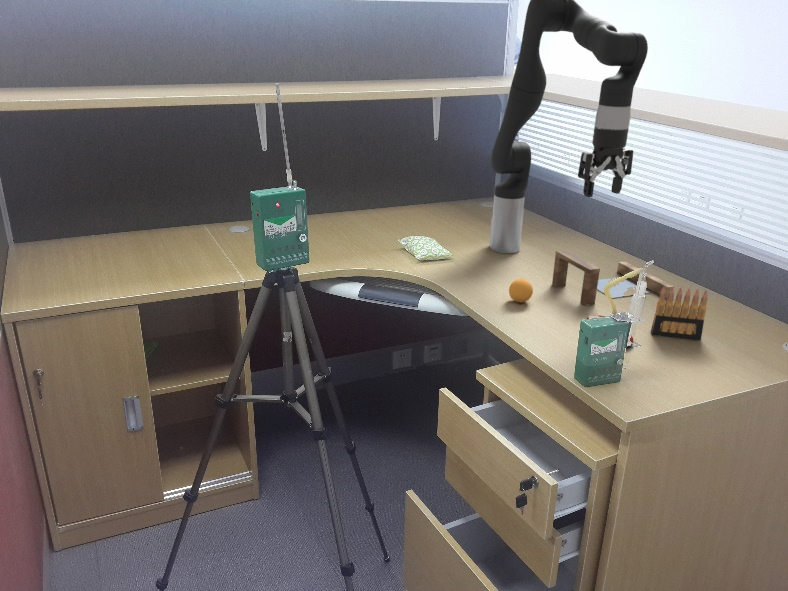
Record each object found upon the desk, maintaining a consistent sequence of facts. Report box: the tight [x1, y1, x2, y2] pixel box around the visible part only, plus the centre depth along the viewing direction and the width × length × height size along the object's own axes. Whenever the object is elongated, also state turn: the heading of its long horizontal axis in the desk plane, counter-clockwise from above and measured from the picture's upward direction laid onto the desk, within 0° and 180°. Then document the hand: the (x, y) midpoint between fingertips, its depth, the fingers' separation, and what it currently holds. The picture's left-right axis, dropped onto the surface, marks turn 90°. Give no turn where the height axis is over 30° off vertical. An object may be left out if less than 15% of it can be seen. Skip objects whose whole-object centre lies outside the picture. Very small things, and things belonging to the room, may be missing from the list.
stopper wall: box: [616, 261, 675, 299], centre depth 182 cm, size 20×2×3 cm, turn 21°
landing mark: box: [597, 276, 650, 300], centre depth 179 cm, size 12×12×1 cm
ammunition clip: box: [650, 286, 708, 341], centre depth 150 cm, size 11×2×12 cm, turn 77°
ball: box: [508, 278, 534, 303], centre depth 168 cm, size 6×6×6 cm
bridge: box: [551, 249, 601, 306], centre depth 173 cm, size 3×15×10 cm, turn 20°
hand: (601, 194), depth 158 cm, fingers open, 8 cm apart
